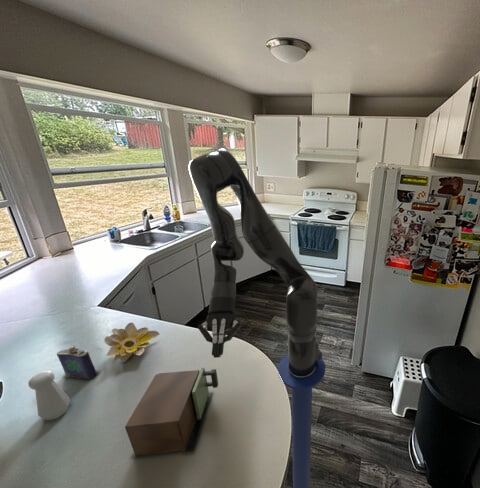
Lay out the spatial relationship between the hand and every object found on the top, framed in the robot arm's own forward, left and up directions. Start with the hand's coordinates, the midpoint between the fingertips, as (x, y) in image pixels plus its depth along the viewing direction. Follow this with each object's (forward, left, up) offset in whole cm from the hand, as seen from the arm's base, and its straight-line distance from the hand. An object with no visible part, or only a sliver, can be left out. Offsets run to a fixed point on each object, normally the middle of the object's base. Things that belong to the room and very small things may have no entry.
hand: (217, 357), depth 72 cm
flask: (+33, -29, -11) cm, 45 cm away
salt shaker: (+37, -17, -11) cm, 42 cm away
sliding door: (+5, +6, -10) cm, 12 cm away
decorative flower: (+20, -31, -11) cm, 38 cm away
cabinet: (+13, +4, -10) cm, 18 cm away
